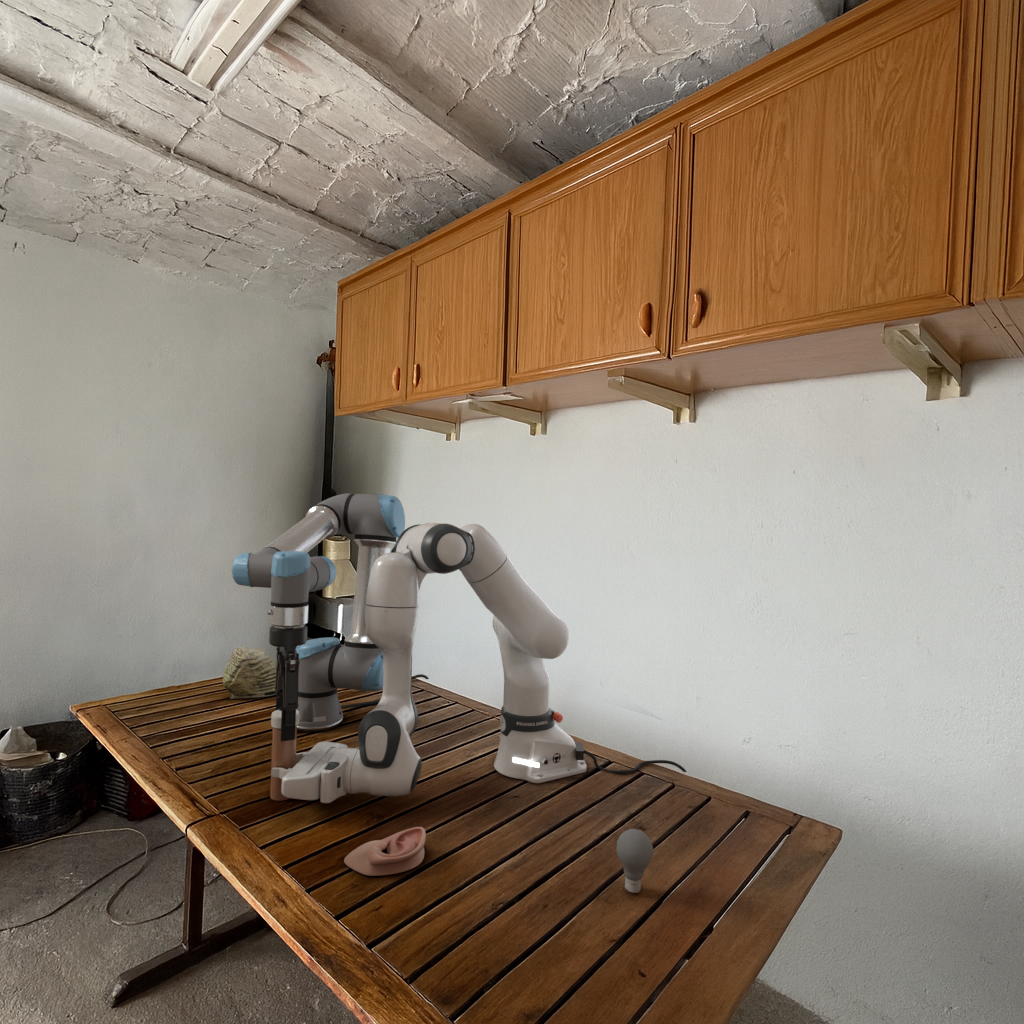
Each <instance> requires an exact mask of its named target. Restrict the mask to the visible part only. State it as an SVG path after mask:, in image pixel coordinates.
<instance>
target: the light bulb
mask: <svg viewBox="0 0 1024 1024" xmlns="http://www.w3.org/2000/svg"><path fill="white" fill-rule="evenodd" d="M615 849H616V854H617V857H618V859H619V861H620V863H621V865H622V867H623V873H624V874H623V875H624V876H625V878H624V888H625V890H627V891H628V892H630V893H634V894H635V893H639V892H640V891H641V889H642V887H641V886H642V879H643V877H644V875H645V871H646V868H647V867H648V866H649V864H650V863H651V861H652V859H653V855H654V847H653V843H652V841H651V838H649V836H648V835H647V834H646V833H645V832H643V831H642V830H641V829H636V828H629V829H627V830H625V831H623V832H622V833H621V834H620V835H619V837H618V839H617V841H616V847H615Z"/></svg>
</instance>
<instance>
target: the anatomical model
mask: <svg viewBox="0 0 1024 1024" xmlns="http://www.w3.org/2000/svg"><path fill="white" fill-rule="evenodd" d="M426 839H427V834H426V829H425V827H423V826H415V827H411V828H407V829H404V830H401V831H398V832H396V833H394V834H392V835H389V836H387V837H385V838H383V839H376V840H370V841H368V842H365V843H363V844H361V845H359V846H357V847H356V848H355V849H353V850H352V851H350V852H349V853H348V854H347V855H346V856H345V857H344V859H343V863H344V865H346V866H347V867H348V868H350V869H352V870H353V871H355V872H356V873H359V874H361V875H364V876H369V877H377V876H389V875H394V874H395V875H396V874H399V873H403V872H407V871H409V870H412V869H414V868H416V867H418V866H419V865H421V863H422V862H423V860H424V859H425V848H424V846H425V844H426Z"/></svg>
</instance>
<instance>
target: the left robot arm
mask: <svg viewBox="0 0 1024 1024" xmlns="http://www.w3.org/2000/svg"><path fill="white" fill-rule="evenodd" d="M405 529H406V515H405V509H404V506H403V504H402V502H401V500H400V499H399V498H398V497H397V496H395V495H389V494H382V493H381V494H377V493H376V494H375V493H354V492H353V493H352V492H351V493H350V492H349V493H347V492H346V493H340V494H337V495H334V496H331V497H328V498H327V499H324V500H321V501H320V502H318V503H317V504H315V505H313V506H312V507H311V508H310V509H308V511H307V512H306V514H305V517H303V518H302V519H300V520H299V521H298V522H297V523H295V524H294V525H293V526H291V527H290V528H289V529H288V530H286V531H285V532H283V533H282V534H280V535H279V536H278V537H277V538H275V539H274V540H273V541H271V542H270V543H268V544H267V545H266V546H264V547H263V548H262V549H261V550H259V551H257V552H256V553H252V552H247V553H245V552H244V553H240V554H238V555H237V556H236V557H235V558H234V560H233V562H232V565H231V574H232V578H233V581H234V582H235V584H237V585H238V586H243V587H250V588H267V589H270V609H269V610H266V614H267V616H269V618H270V619H269V623H270V625H271V626H270V627H269V632H268V633H269V634H268V643H269V644H270V645H271V646H272V647H275V648H276V649H275V650H276V655H275V656H276V663H275V665H276V680H275V691H276V695H275V697H276V698H275V711H276V710H279V711H282V714H281V742H282V741H289V740H295V723H296V710H298V711H299V724H298V725H297V732H301V733H316V732H325V731H329V730H332V729H335V728H337V727H339V726H340V725H342V723H343V722H344V714H343V710H344V709H349V708H356V707H363V706H364V707H365V706H371V705H376V704H378V703H379V701H380V699H381V698H379V699H375V700H371V701H364V702H356V703H350V704H349V703H348V704H343V705H341V702H340V699H339V695H338V689H342V690H343V689H345V690H352V691H353V690H356V691H362V692H365V693H366V692H379V691H381V690H383V655H382V652H381V650H380V649H379V648H378V646H377V645H375V644H374V643H373V642H372V641H371V640H370V639H369V637H368V636H367V631H366V623H365V608H366V596H367V589H368V583H369V578H370V574H371V570H372V566H373V563H374V562H375V560H376V559H377V558H378V557H380V556H381V555H384V554H387V553H391V550H392V549H393V547H394V546H395V544H396V541H397V539H398V537H399V536H400V534H401V533H402V532H403V531H404V530H405ZM335 535H353V536H354V538H353V541H354V543H356V545H357V546H358V553H357V565H356V566H357V567H356V574H355V575H356V577H355V585H354V596H353V597H354V598H353V605H352V606H353V608H352V619H351V630H350V634H349V635H348V636H346V637H345V638H344V643H343V644H341V641H340V639H339V638H338V637H334V636H331V637H330V636H329V637H328V636H327V637H318V638H313V639H308V626H307V625H306V624H308V622H309V595H310V593H311V592H315V591H321V590H324V589H325V588H327V587H329V586H331V585H332V584H333V583H334V582H335V580H336V578H337V577H336V576H337V568H336V565H335V562H334V561H333V560H332V559H331V558H329V557H326V556H323V555H320V556H319V555H314V556H310V554H309V552H310V551H312V549H314V548H315V547H317V546H318V545H319V544H320V543H321V542H322V541H323V540H327V539H330V538H332V537H334V536H335ZM418 678H424V679H425V680H429V679H430V678H429V677H428V676H427V675H426V674H423V673H421V674H420V673H419V674H415V675H413V676H412V680H414V679H418Z"/></svg>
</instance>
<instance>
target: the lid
mask: <svg viewBox="0 0 1024 1024" xmlns="http://www.w3.org/2000/svg"><path fill="white" fill-rule="evenodd" d="M281 714H282V711H279V710H276V709H275V710H274V711H272V712H271V715H270V726H271V727H272V728H273V727H274V728H279V729H281ZM298 724H299V711H298V710H296V723H295V726H297V725H298Z"/></svg>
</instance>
